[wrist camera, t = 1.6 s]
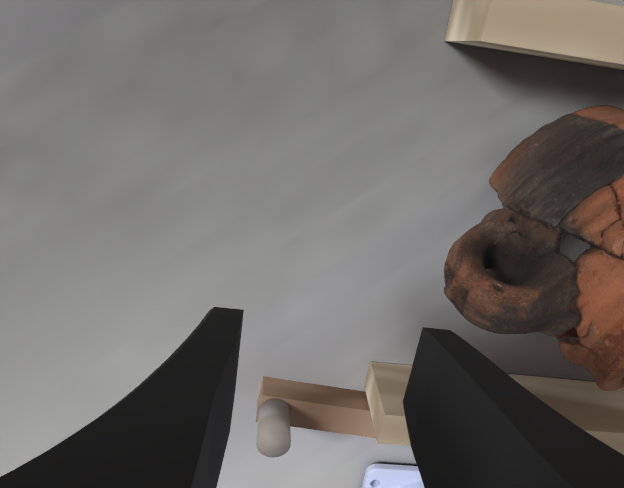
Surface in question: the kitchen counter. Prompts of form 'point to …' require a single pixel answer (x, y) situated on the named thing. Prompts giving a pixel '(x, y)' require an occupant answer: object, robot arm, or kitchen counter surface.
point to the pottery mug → (553, 244)
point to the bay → (550, 44)
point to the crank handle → (307, 412)
